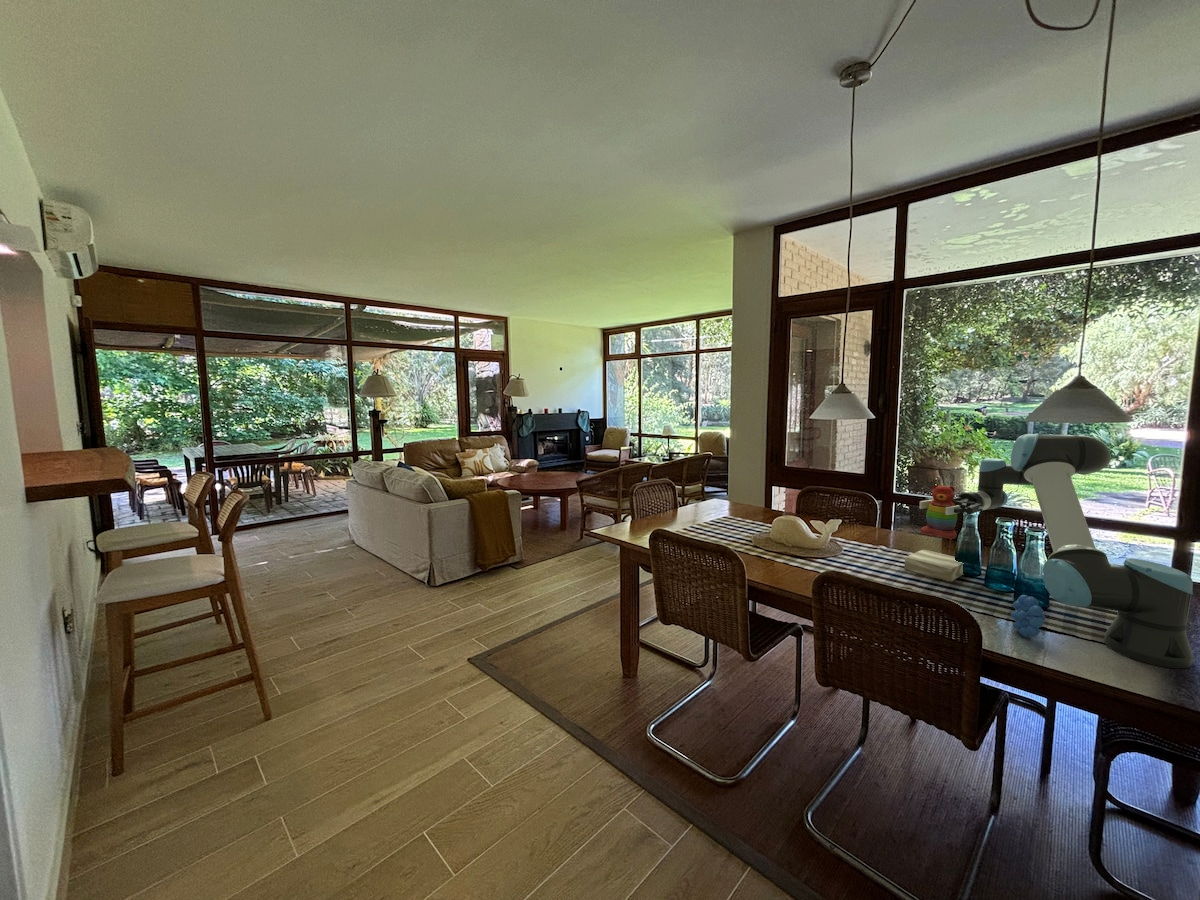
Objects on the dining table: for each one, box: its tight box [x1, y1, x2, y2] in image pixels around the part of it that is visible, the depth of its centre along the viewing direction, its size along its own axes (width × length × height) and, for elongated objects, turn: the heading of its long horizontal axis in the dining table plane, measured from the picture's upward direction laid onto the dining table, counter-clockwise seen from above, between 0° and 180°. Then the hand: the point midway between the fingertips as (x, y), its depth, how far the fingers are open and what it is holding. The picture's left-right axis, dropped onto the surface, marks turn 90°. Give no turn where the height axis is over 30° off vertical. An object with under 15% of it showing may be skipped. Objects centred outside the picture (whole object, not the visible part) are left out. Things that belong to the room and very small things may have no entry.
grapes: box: [1010, 594, 1047, 638], centre depth 133 cm, size 12×7×12 cm, turn 165°
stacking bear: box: [919, 484, 958, 540], centre depth 178 cm, size 11×10×18 cm
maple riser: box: [904, 549, 964, 582], centre depth 181 cm, size 15×15×5 cm
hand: (933, 508), depth 176 cm, fingers closed on stacking bear, 9 cm apart
